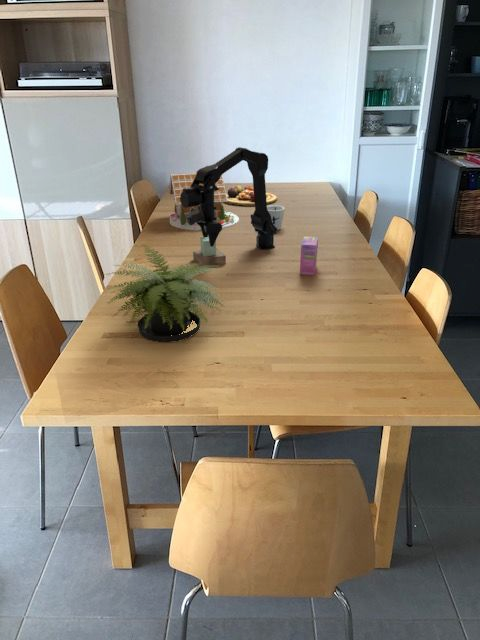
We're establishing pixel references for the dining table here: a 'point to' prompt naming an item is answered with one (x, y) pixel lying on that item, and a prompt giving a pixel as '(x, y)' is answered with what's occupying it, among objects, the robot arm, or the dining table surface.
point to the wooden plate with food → (245, 196)
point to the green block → (207, 247)
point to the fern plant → (166, 299)
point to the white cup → (276, 215)
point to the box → (308, 255)
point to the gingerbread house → (179, 219)
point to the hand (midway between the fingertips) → (208, 242)
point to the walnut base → (209, 258)
